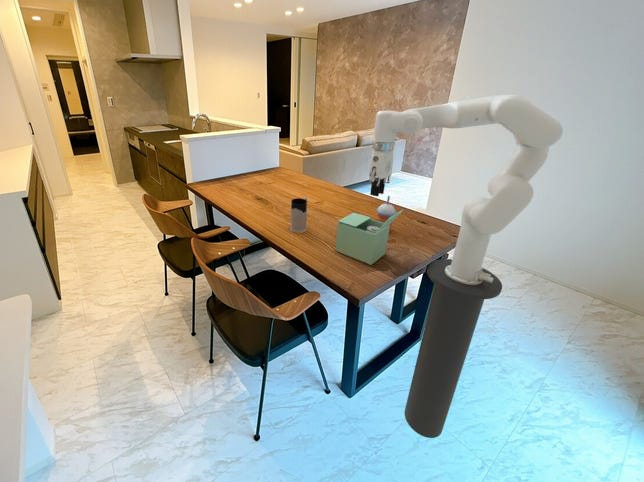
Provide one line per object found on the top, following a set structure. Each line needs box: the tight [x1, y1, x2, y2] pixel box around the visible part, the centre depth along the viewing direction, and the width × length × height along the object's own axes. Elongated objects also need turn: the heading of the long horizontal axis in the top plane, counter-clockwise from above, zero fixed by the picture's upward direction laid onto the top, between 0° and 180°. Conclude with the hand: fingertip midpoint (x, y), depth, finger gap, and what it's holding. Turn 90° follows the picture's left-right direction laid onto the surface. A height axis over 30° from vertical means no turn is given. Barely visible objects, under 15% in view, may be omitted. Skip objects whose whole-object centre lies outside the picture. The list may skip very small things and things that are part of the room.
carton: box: [335, 212, 391, 266], centre depth 125 cm, size 17×13×14 cm
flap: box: [376, 209, 404, 233], centre depth 114 cm, size 8×13×1 cm
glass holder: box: [289, 197, 308, 234], centre depth 148 cm, size 9×14×15 cm, turn 152°
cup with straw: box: [376, 195, 397, 232], centre depth 144 cm, size 9×9×18 cm
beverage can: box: [366, 226, 379, 234], centre depth 122 cm, size 6×6×12 cm
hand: (376, 193), depth 115 cm, fingers open, 3 cm apart
